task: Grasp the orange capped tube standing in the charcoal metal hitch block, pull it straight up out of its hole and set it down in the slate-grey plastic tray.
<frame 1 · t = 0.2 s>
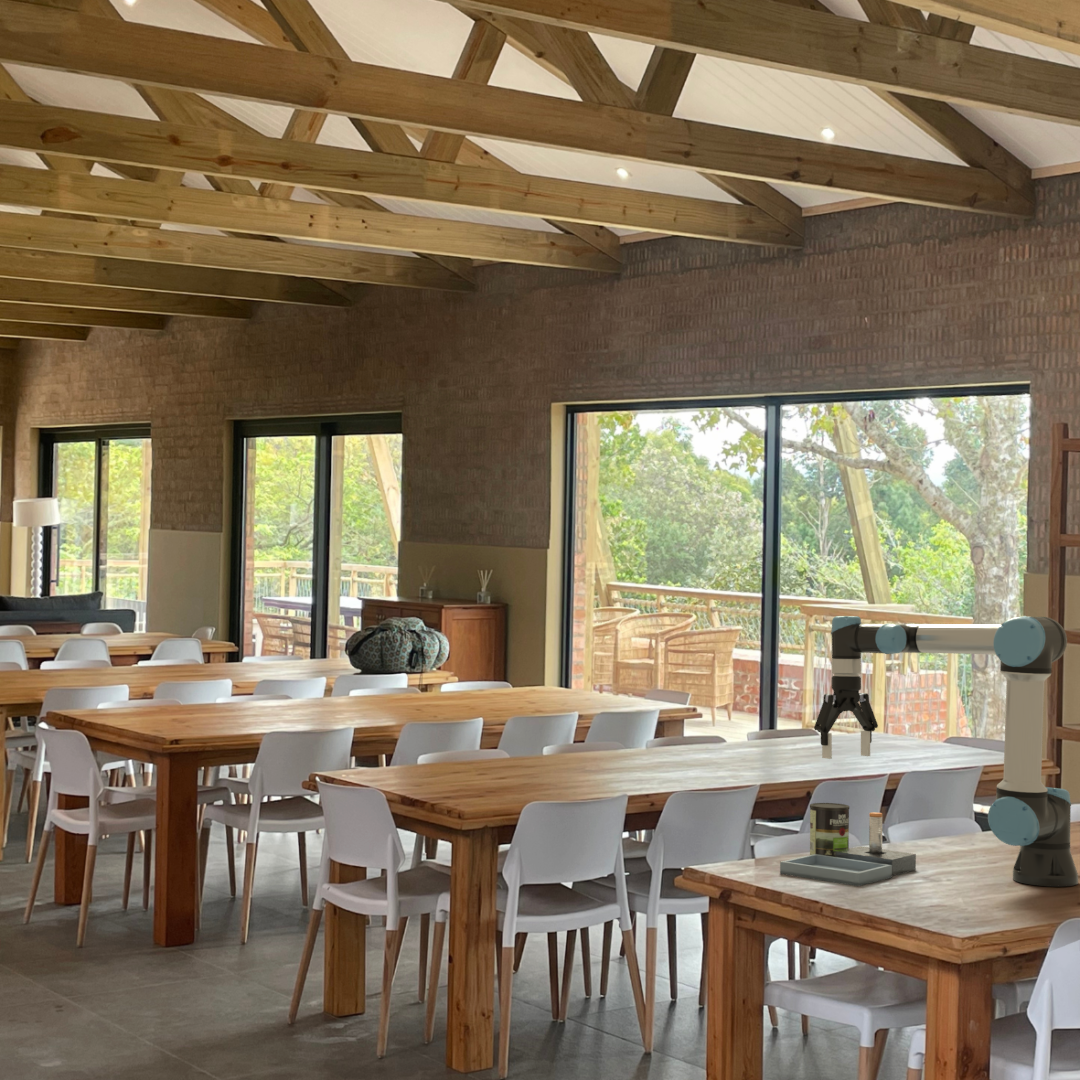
hand: (846, 757, 387), 27 cm above the table, tool pointing down, fingers open, 13 cm apart
hitch block: (875, 868, 378), on the table
coffee can: (829, 859, 392), on the table
parts tray: (835, 875, 368), on the table
orange capped tube: (875, 841, 379), in the hitch block
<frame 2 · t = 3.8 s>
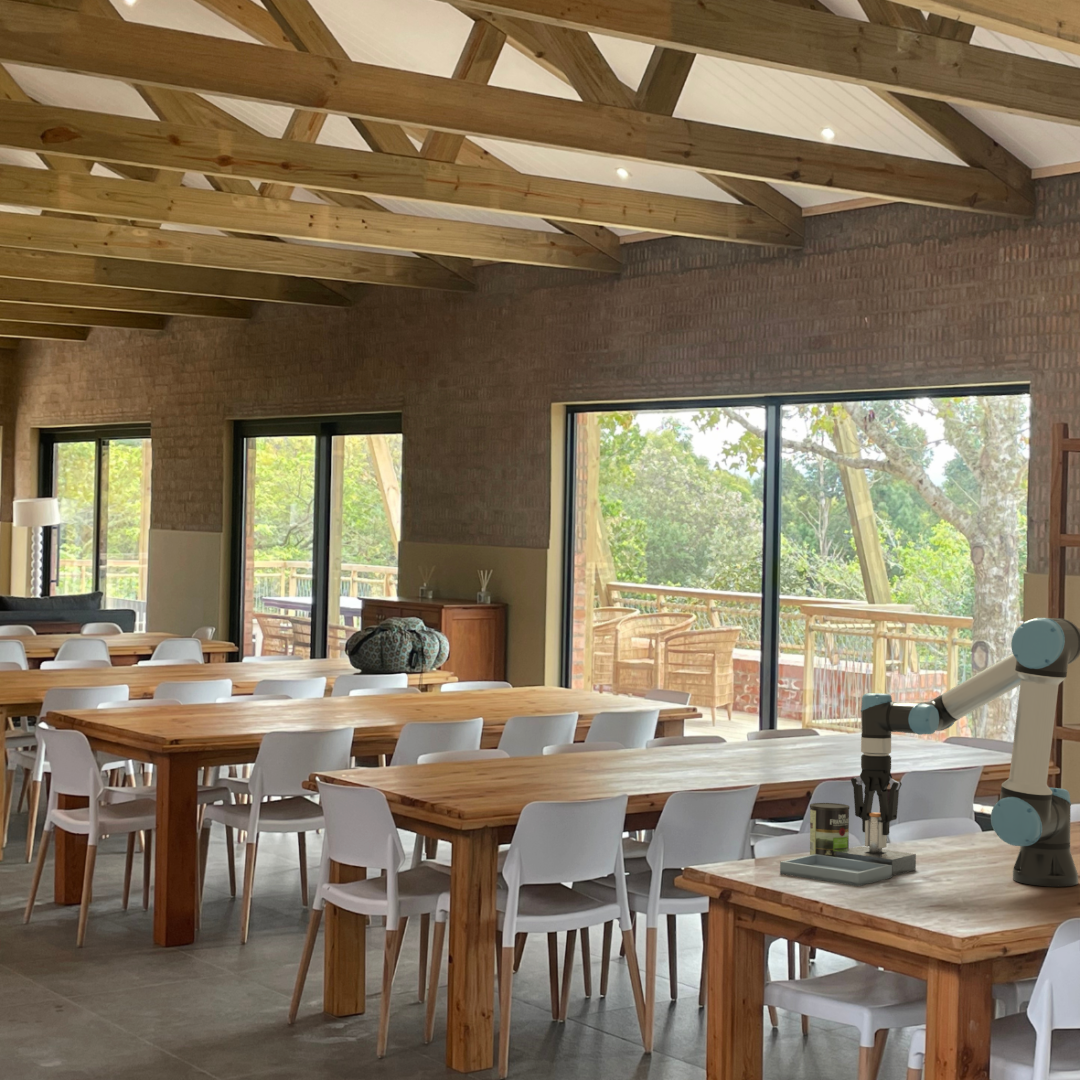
hand: (875, 846, 379), 6 cm above the table, tool pointing down, fingers closed on orange capped tube, 3 cm apart
orange capped tube: (875, 840, 379), in the hitch block, touching gripper
everything else where it was.
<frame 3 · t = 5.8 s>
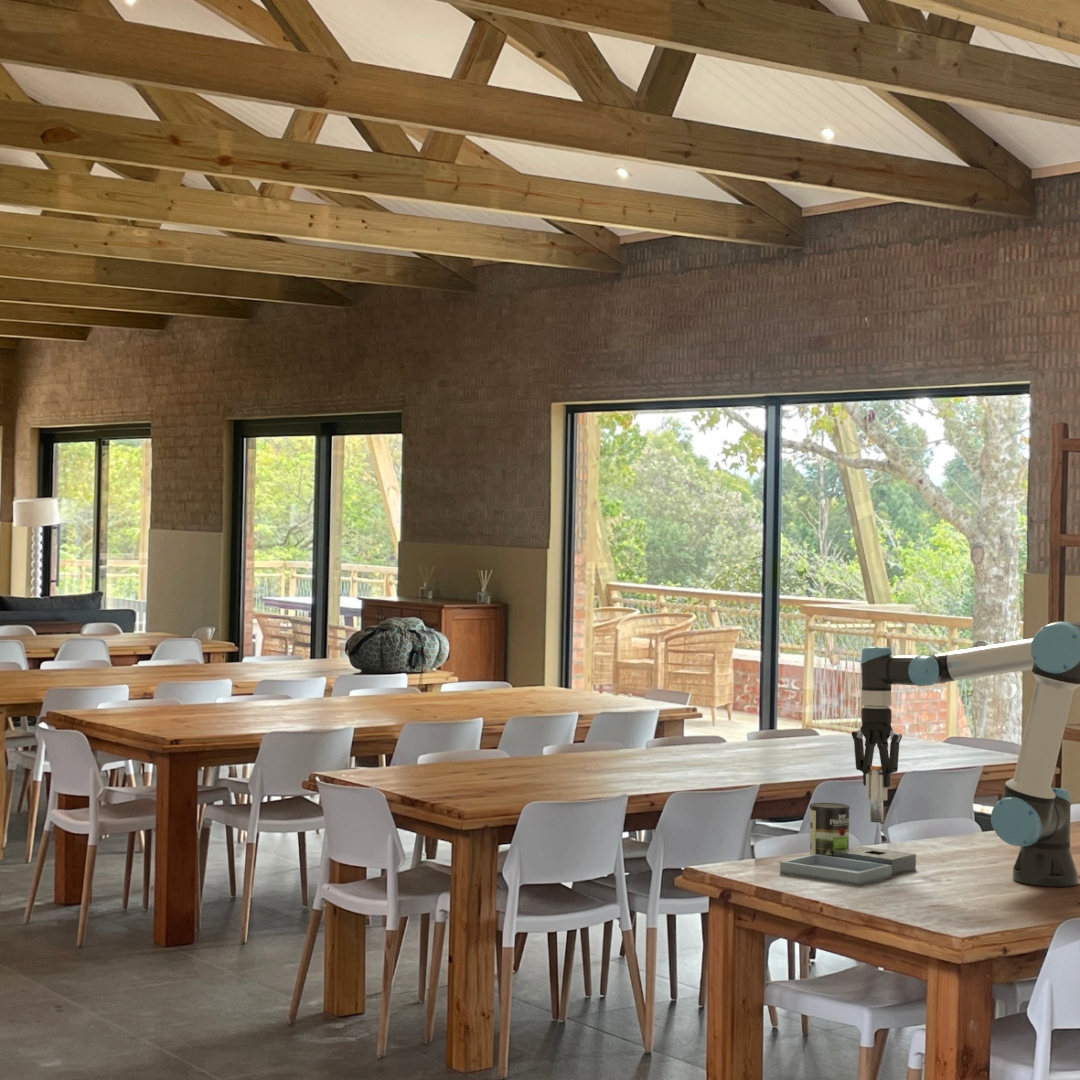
hand: (876, 799, 379), 18 cm above the table, tool pointing down, fingers closed on orange capped tube, 3 cm apart
orange capped tube: (876, 793, 379), point 19 cm above the table, touching gripper
everything else where it was.
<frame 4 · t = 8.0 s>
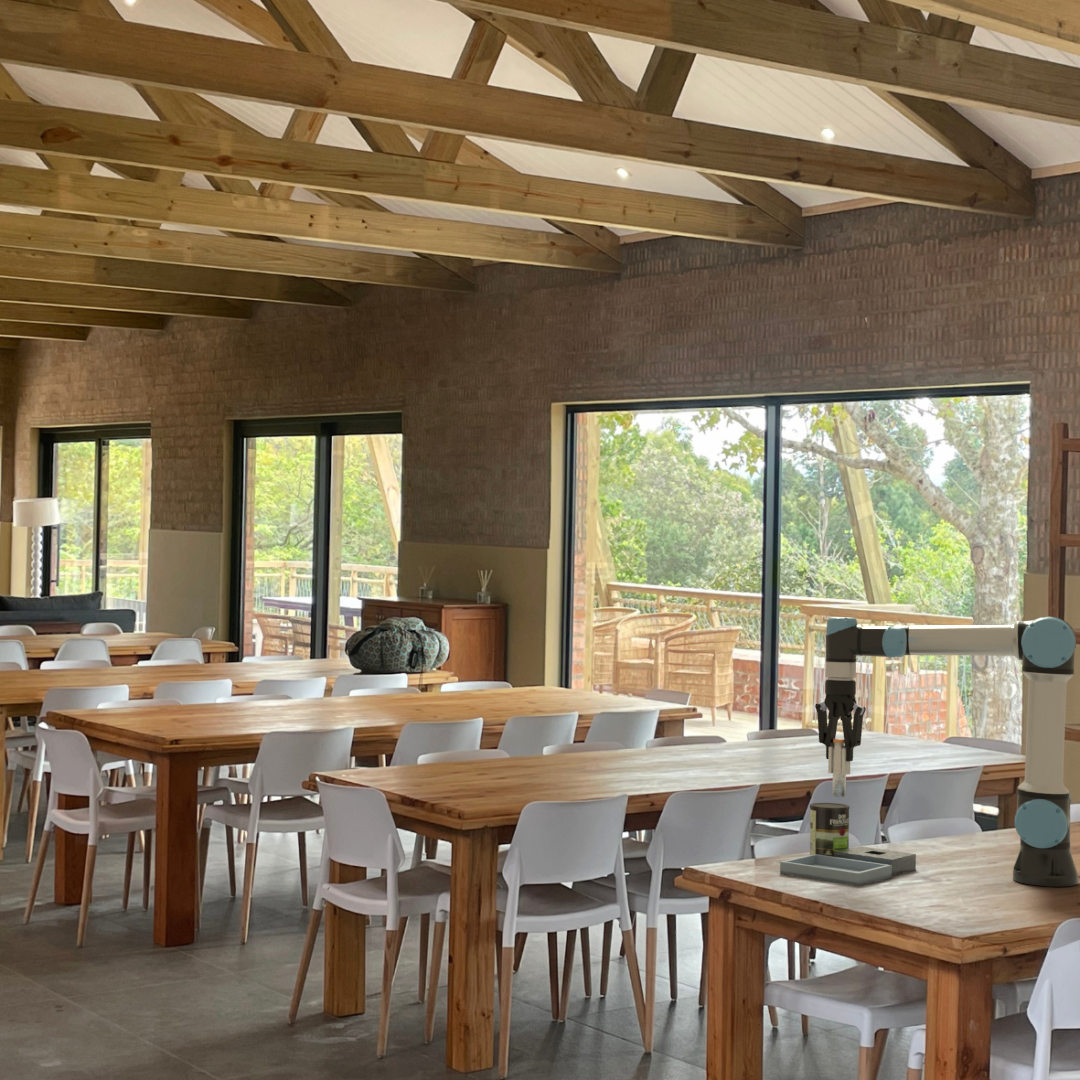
hand: (839, 773, 370), 25 cm above the table, tool pointing down, fingers closed on orange capped tube, 3 cm apart
orange capped tube: (839, 767, 370), point 26 cm above the table, touching gripper
everything else where it was.
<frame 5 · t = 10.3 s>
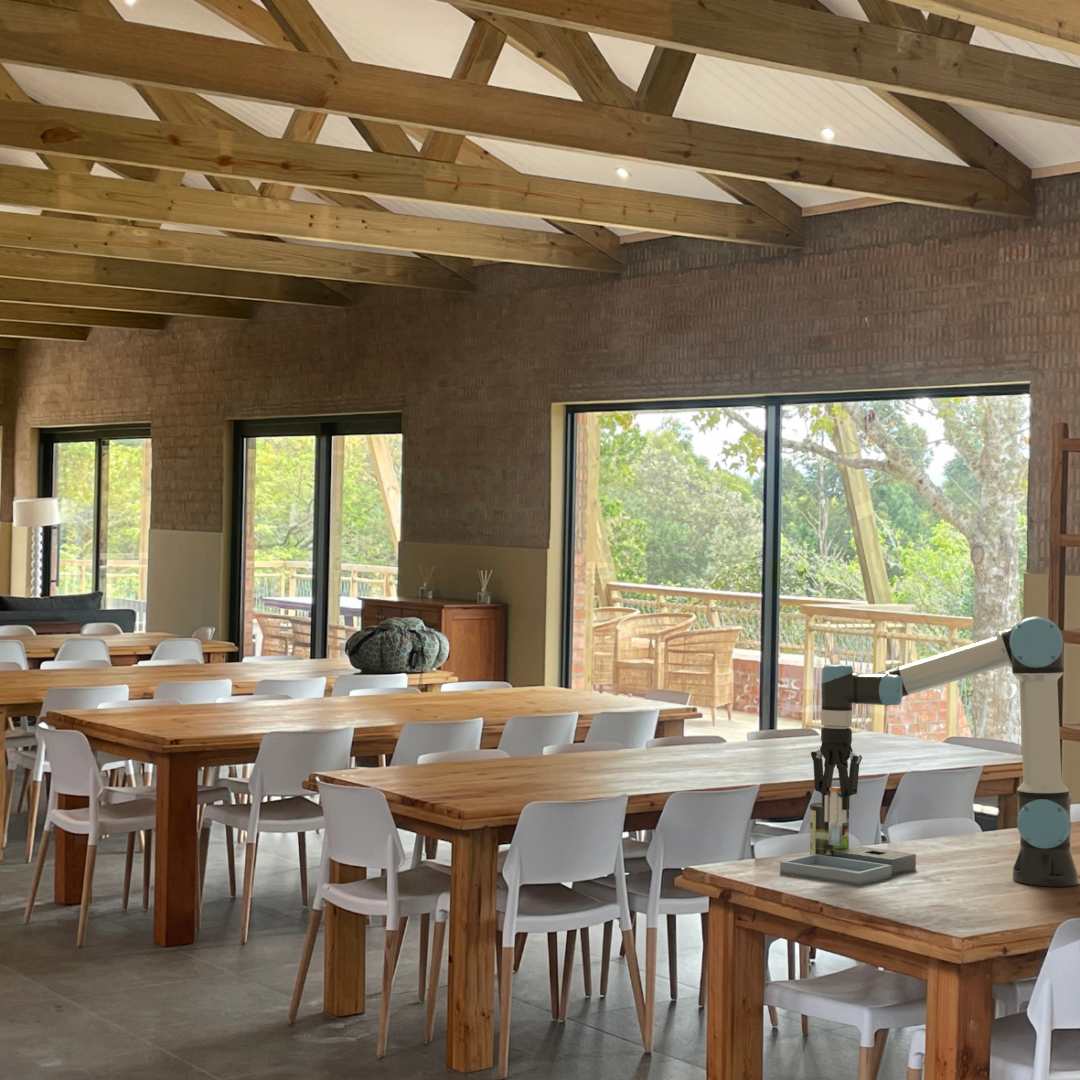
hand: (835, 821, 368), 13 cm above the table, tool pointing down, fingers closed on orange capped tube, 3 cm apart
orange capped tube: (835, 816, 369), point 15 cm above the table, touching gripper
everything else where it was.
when the fingers open (7 cm above the table, at t = 12.2 s): orange capped tube stays where it is, resting on parts tray.
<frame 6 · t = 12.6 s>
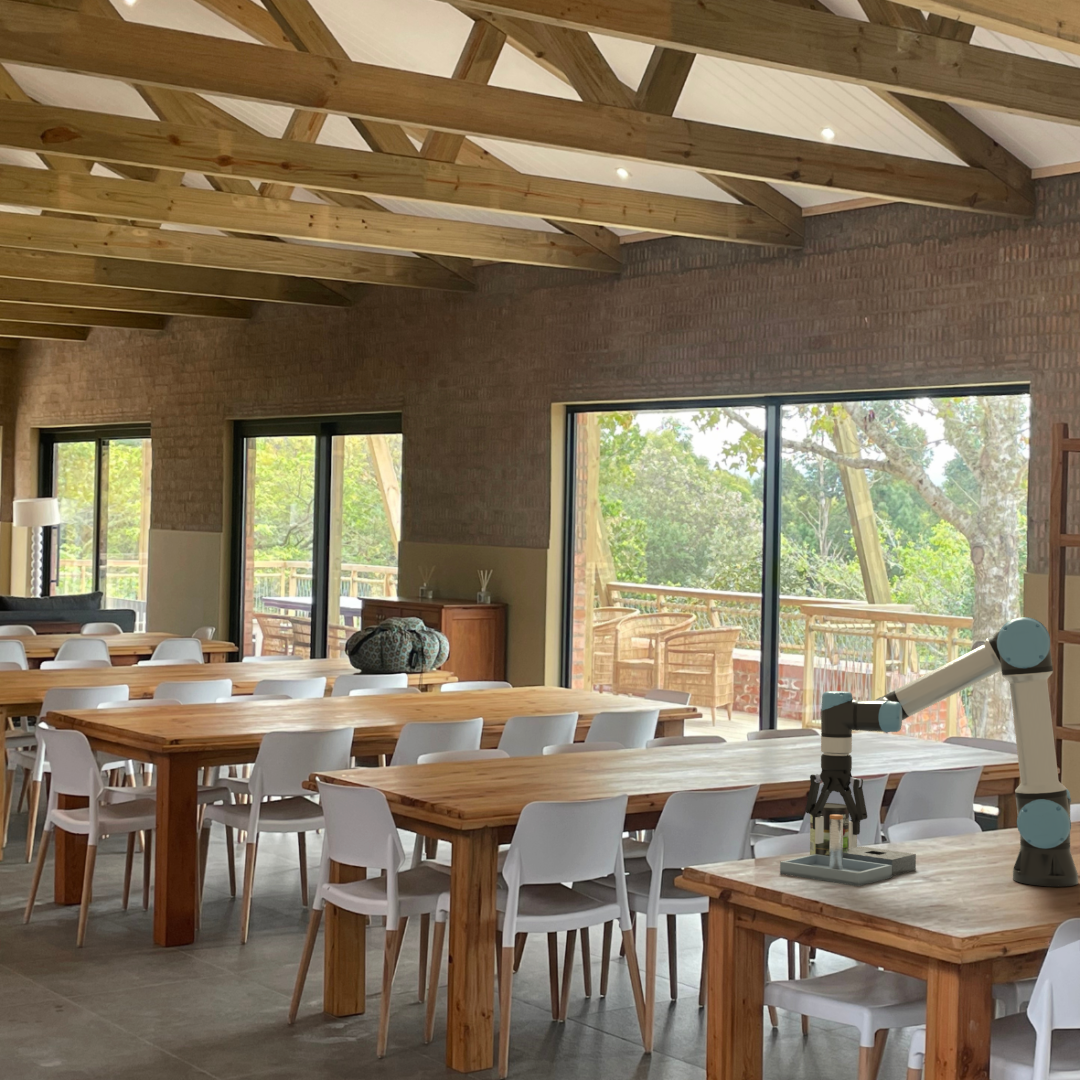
hand: (835, 845, 368), 7 cm above the table, tool pointing down, fingers open, 9 cm apart
orange capped tube: (836, 843, 368), in the parts tray, point 8 cm above the table
everything else where it was.
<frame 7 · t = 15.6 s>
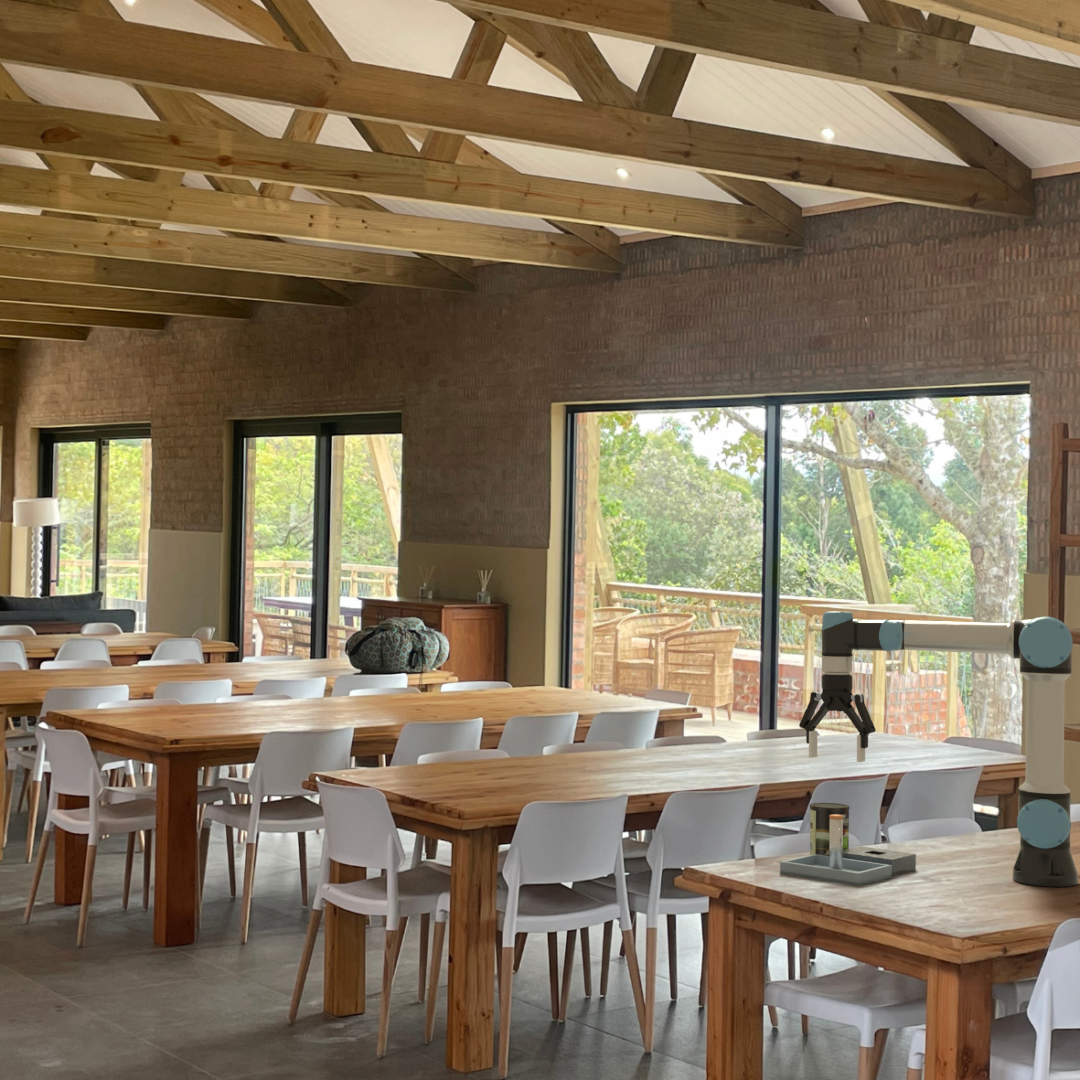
hand: (836, 759, 369), 29 cm above the table, tool pointing down, fingers open, 13 cm apart
nothing on the table moved.
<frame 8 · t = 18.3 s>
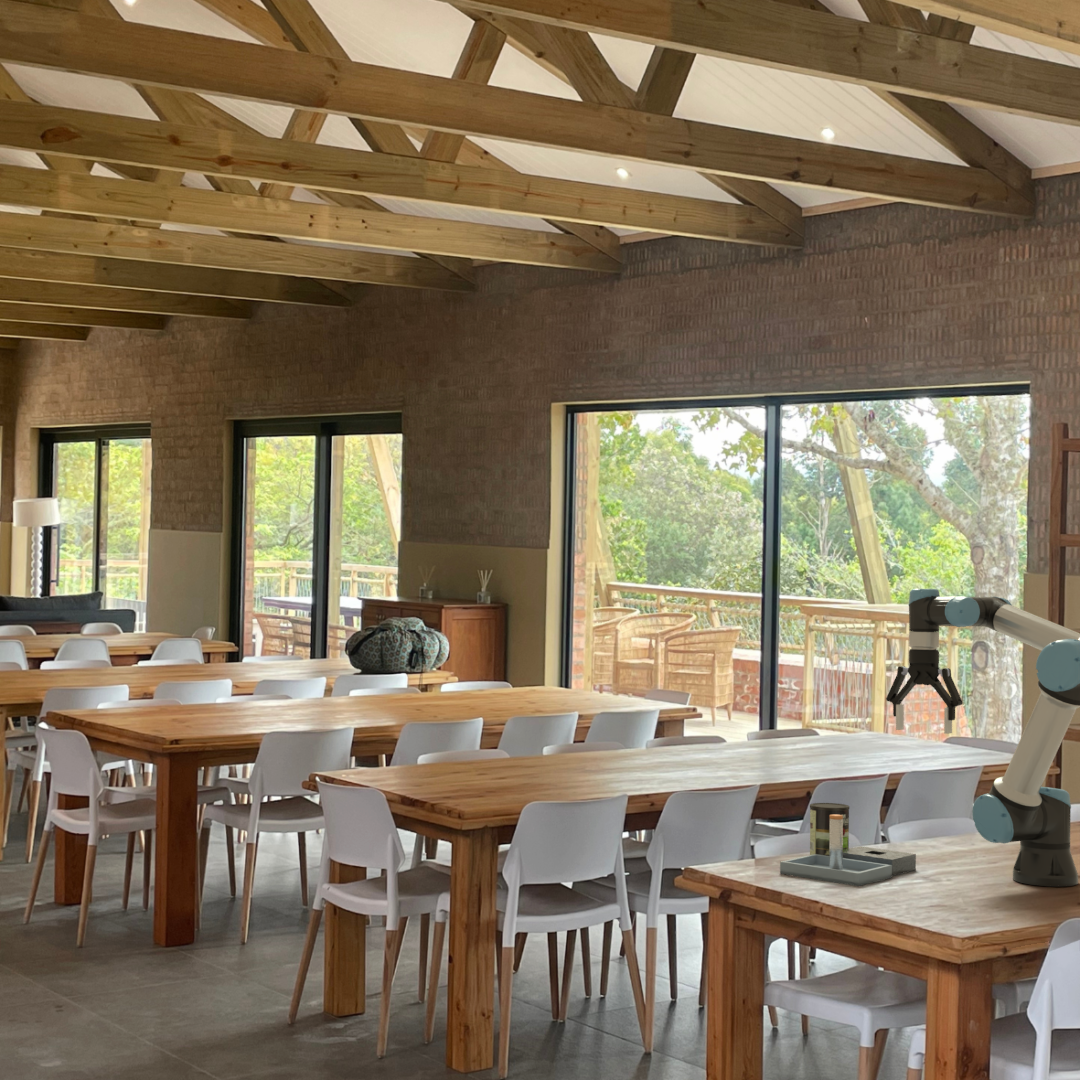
hand: (923, 731, 382), 35 cm above the table, tool pointing down, fingers open, 13 cm apart
nothing on the table moved.
at the end: orange capped tube inside the target area on the parts tray (0.1 cm from its centre), point 7.8 cm above the parts tray's base; the gripper is holding nothing; orange capped tube moved 16.1 cm from its start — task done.
